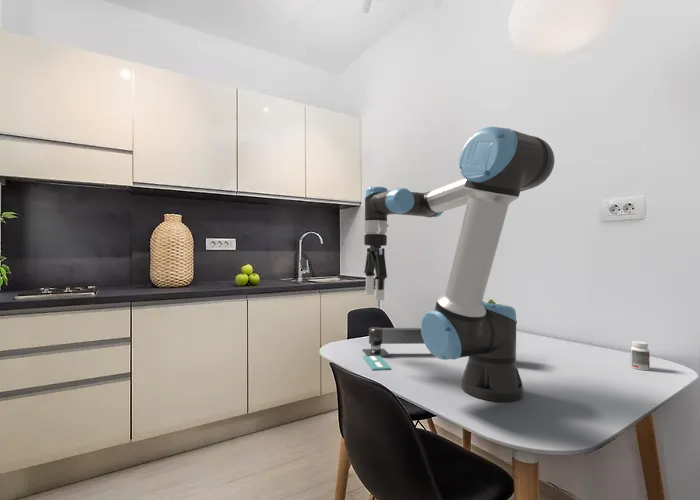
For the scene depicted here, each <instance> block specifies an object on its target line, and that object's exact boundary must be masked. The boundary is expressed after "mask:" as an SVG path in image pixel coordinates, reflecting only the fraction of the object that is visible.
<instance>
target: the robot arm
mask: <svg viewBox="0 0 700 500" xmlns="http://www.w3.org/2000/svg"><path fill="white" fill-rule="evenodd" d="M458 161H459V162H458V166H459V169H460V174H461V175H462V177H461V178H459V179H457V180H454V181H452V182H449V183H446V184H444V185H442V186H438V187H437V188H434V189H432V190H429V191H427V192H418V191H417V192H415V191H410V189H408V188H405V187H402V188H398V187H397V188H396V187H395V188H393V189H391V190H388V188H387V187H385V186H370V187H367V188H366V190H365V197H364V233H365V234H364V239H363V241H364V242H363V243H364V246H369V247H367V249H366V259H365V266H364V272H363V273H364V275H365V295H367V296H369V295H370V296H371V295H374V290H375V297H374V298H375V301H385V282H386V279H387V278H388V274H387V266H386V265H387V264H386V255H385V252H386V251H385V248H383V247H385V246H387V245H388V243H387V242H388V241H387V240H388V239H387V238H388V236H387V233H388V232H387V231H388V227H389V224H388V216H389V215H399V216H400V215H402V216H414V217H425V218H438V217H440V216H441V215H442V214H443V213H444V212H446V211H449V210H452V209H456V208H458V207H462V206H465V207H466V208H465V211H464V216H463V219H462V224H461V228H460V232H459V236H458V240H457V243H456V247H455V248H456V249H455V252H454V257H453V260H452V263H451V269H450V273H449V276H448V279H447V280H448V282H447V285H446V289H445V293H444V294H442V295H440V296H438V297H437V299H436V303H435V307H434V310H430V311H428V312H427V313H425V314H424V315H423V317H422V319H421V323H420V328H421V334H422V338H423V340H424V342H425V344H424V345H425V347H426V348H427V350H428V351H429V353H431V354H432V355H433V356H434V357H435V358H437V359H439V360H445V361H447V360H457V359H460V358H464V357H465V358H466V357H468V360H467V363H466V365H465V368H464V371H463V374H462V375H461V389H462V390H463V391H464V392H465V393H467V394H468V395H471V396H472V397H476V398H479V399H482V400H486V401H494V402H502V403H503V402H507V403H508V402H514V401H518V400H520V399H522V398H523V397H524V384H523V382H522V378H521V376H520V373H519V370H518V367H517V323H518V320H517V311H516V309H515V308H514V307H513V306H511V305H510V306H509V305H504V304H497V303H493V302H492V303H490V302H483V299H484V296H485V294H486V293H485V291H486V288H487V284H488V282H489V278H490V275H491V270H492V266H493V264H494V259H495V256H496V253H497V249H498V246H499V245H498V244H499V242H500V238H501V235H502V234H501V233H502V230H503V226H504V224H505V220H506V216H507V213H508V209H509V205H510V204H511V203H512V202H514V201H515V200H517V199H519V198H520V193H521V192H525V191H528V190H531V189H532V190H533V189H534V188H536V187H538V186H541V185H542V184H543V183H544V182H546V180H547V179H548V178H549V177H550V176H551V174H552V172H553V170H554V168H555V167H554V166H555V162H556V161H555V154H554V151H553V149H552V146H550V144H549V143H548V142H547V141H545V140H544V139H542V138H540V137H538V136H534V135H529V134H525V133H522V132H520V131H516V130H513V129H511V128H507V127H506V128H505V127H498V126H488V127H484V128H481V129H479V130H477V132H475V133H474V134H473V135H472V136H470V137H469V138H468V139H467V141H466V142H465V144H464V146H463V147H462V149H461V151H460V156H459V160H458ZM382 246H383V247H382ZM374 285H375V286H374ZM374 288H375V289H374Z"/></svg>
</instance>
